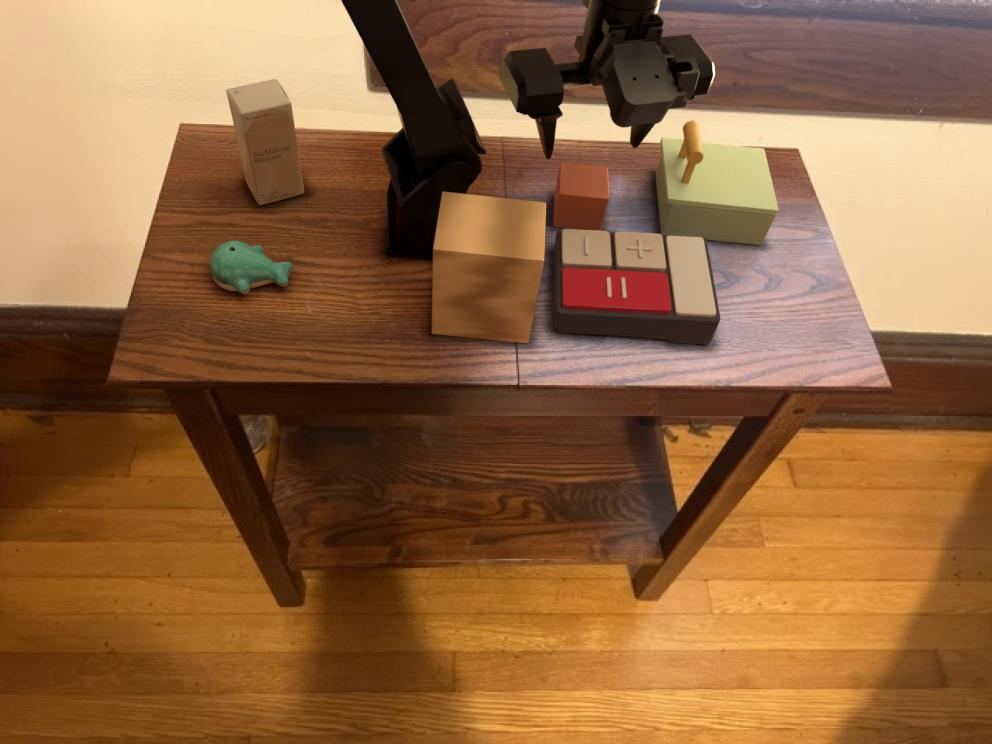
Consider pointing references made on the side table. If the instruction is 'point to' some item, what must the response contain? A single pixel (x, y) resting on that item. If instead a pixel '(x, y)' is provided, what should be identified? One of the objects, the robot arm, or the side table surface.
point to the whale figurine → (246, 267)
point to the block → (581, 196)
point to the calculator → (634, 285)
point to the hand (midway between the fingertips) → (590, 150)
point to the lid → (716, 174)
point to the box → (266, 140)
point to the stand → (487, 266)
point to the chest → (710, 220)
